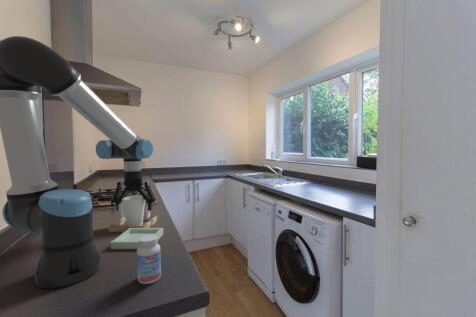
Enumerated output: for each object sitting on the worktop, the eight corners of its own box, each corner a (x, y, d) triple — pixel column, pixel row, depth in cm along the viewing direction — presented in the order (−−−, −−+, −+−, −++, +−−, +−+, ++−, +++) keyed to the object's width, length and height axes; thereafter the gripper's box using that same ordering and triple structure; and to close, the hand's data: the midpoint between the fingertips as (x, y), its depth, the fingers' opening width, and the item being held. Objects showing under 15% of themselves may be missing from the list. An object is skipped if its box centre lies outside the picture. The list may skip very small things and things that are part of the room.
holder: (144, 231, 96) (144, 226, 96) (108, 232, 96) (108, 226, 96) (158, 220, 112) (157, 215, 112) (126, 220, 112) (126, 215, 112)
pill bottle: (141, 288, 58) (139, 244, 57) (134, 277, 62) (133, 237, 62) (164, 279, 61) (163, 238, 61) (157, 269, 66) (155, 232, 66)
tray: (150, 248, 80) (149, 241, 80) (110, 249, 80) (110, 242, 80) (163, 233, 94) (163, 227, 94) (129, 234, 94) (129, 228, 94)
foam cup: (119, 227, 102) (117, 198, 101) (136, 221, 110) (135, 194, 110) (133, 230, 98) (131, 201, 97) (150, 224, 106) (149, 196, 105)
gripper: (162, 169, 106) (163, 214, 107) (111, 169, 107) (113, 215, 108) (156, 171, 99) (157, 220, 100) (101, 171, 99) (103, 220, 100)
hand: (134, 217), depth 104 cm, fingers open, 12 cm apart
